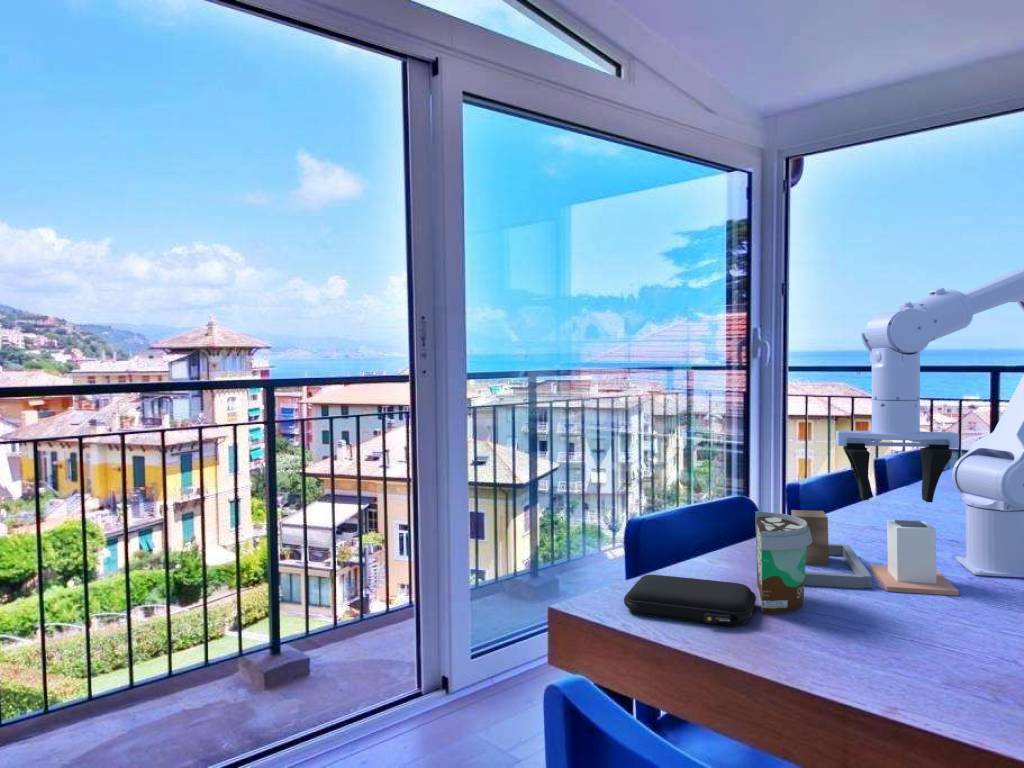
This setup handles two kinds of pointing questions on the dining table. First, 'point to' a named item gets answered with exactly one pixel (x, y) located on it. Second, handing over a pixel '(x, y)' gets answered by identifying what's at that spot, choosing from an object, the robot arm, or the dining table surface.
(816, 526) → the walnut block
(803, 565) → the food container
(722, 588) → the carrying case or bag
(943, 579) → the terracotta mat
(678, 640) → the dining table surface
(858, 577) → the grey rectangular frame
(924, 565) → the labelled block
